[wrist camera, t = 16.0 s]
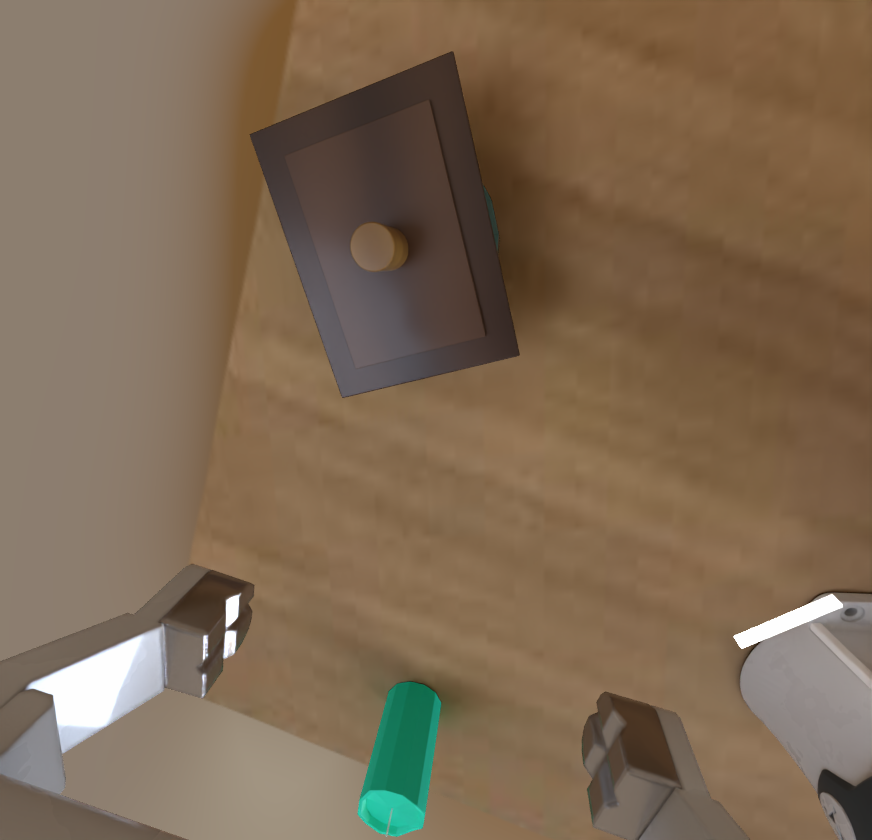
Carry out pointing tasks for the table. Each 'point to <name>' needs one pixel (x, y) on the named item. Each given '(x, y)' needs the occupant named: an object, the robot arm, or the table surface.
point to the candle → (401, 761)
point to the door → (391, 229)
